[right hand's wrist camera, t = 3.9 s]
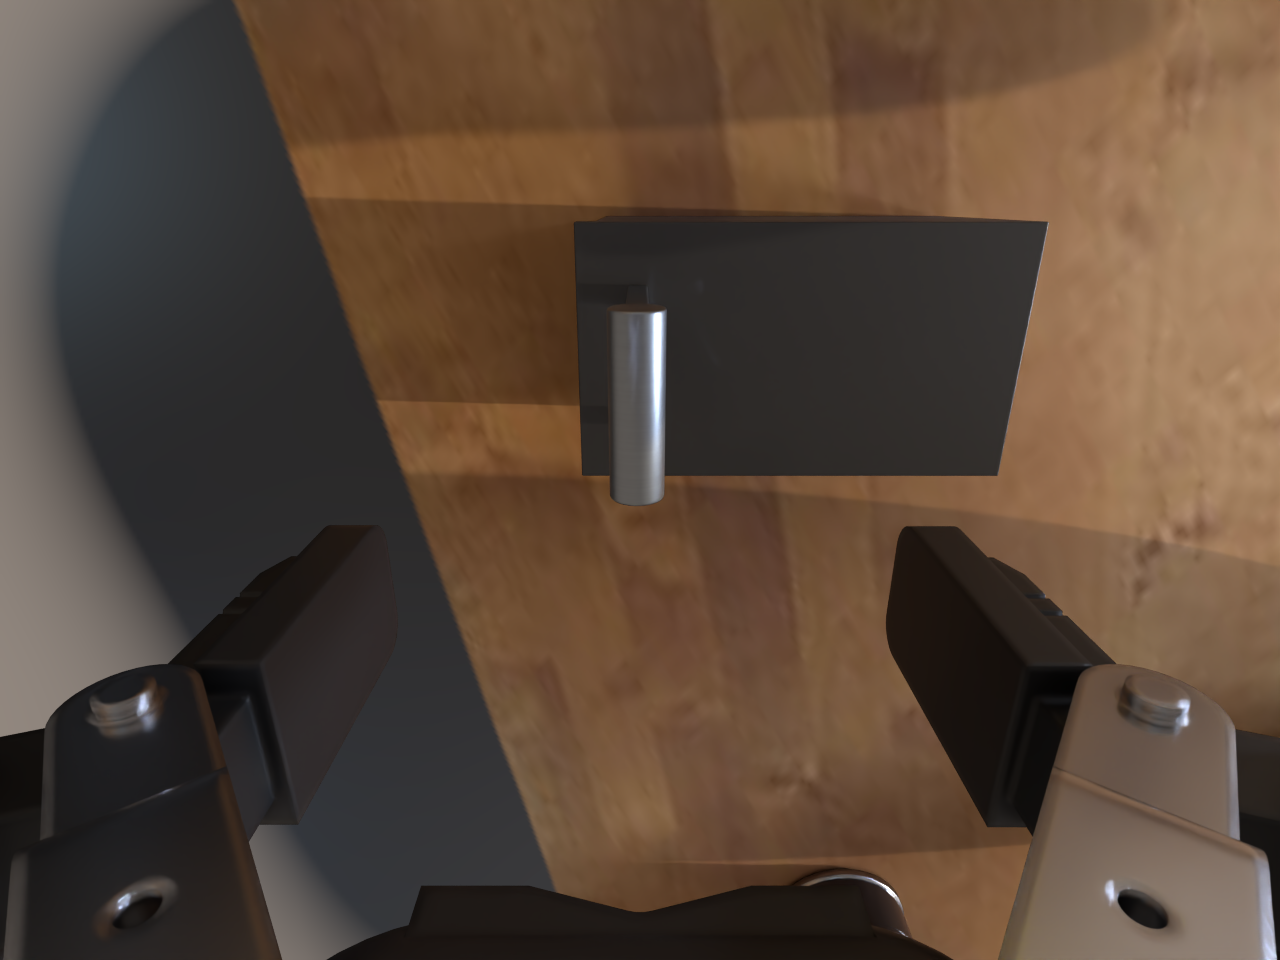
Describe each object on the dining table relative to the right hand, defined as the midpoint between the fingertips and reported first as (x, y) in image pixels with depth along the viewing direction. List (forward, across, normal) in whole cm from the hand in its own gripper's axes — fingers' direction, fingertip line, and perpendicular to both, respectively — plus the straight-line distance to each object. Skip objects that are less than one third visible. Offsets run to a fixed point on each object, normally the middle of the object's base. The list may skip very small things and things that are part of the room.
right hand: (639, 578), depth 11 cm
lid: (+18, -6, 0) cm, 19 cm away
